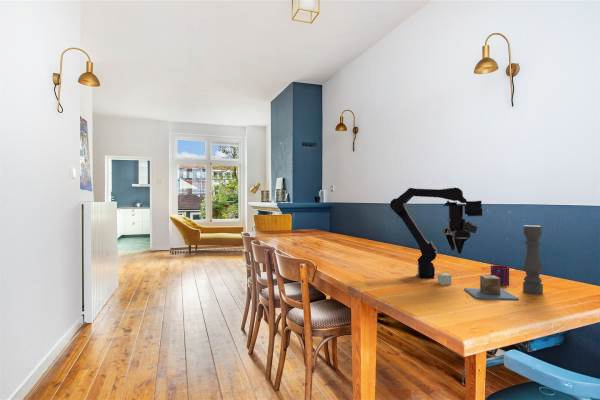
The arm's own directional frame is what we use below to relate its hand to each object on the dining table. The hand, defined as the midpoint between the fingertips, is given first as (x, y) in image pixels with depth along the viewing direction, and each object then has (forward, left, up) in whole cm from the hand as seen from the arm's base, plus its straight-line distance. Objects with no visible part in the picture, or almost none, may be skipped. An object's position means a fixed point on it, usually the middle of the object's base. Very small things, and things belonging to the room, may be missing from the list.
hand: (456, 252), depth 149 cm
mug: (+15, -6, -12) cm, 20 cm away
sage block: (-7, -8, -12) cm, 16 cm away
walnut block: (+5, -23, -11) cm, 26 cm away
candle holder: (+22, -18, -12) cm, 31 cm away
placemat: (+5, -23, -12) cm, 26 cm away
